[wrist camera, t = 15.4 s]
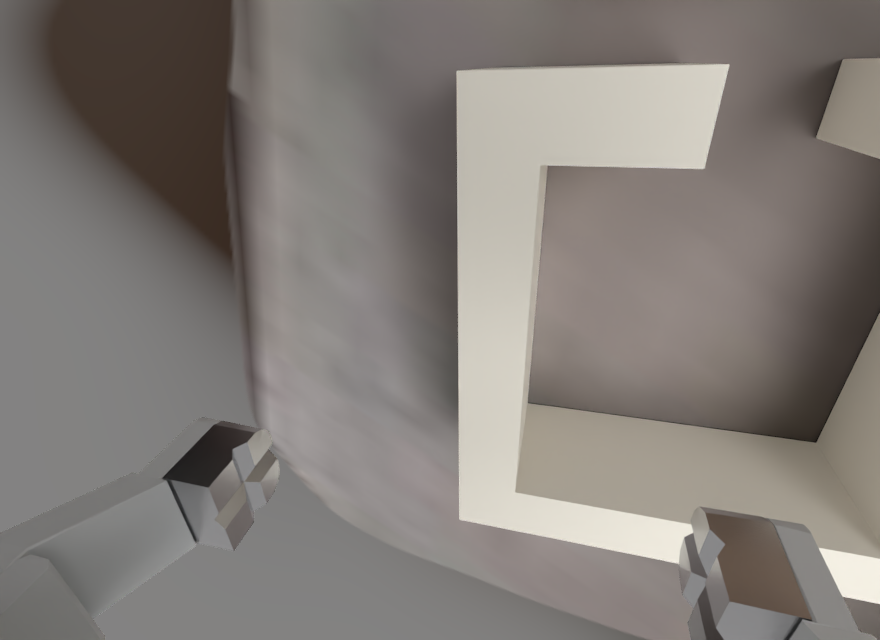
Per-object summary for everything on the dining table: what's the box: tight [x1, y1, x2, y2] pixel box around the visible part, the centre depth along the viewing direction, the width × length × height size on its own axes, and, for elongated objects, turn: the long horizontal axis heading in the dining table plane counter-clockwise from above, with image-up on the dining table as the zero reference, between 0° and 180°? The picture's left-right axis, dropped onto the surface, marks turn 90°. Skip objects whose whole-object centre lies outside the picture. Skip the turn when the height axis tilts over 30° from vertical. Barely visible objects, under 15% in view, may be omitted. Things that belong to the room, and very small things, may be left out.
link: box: [457, 58, 880, 604], centre depth 14 cm, size 15×15×5 cm
